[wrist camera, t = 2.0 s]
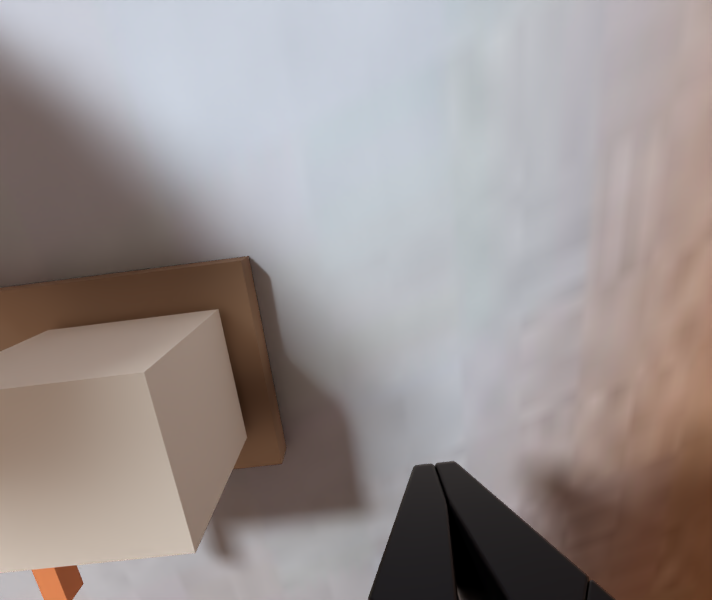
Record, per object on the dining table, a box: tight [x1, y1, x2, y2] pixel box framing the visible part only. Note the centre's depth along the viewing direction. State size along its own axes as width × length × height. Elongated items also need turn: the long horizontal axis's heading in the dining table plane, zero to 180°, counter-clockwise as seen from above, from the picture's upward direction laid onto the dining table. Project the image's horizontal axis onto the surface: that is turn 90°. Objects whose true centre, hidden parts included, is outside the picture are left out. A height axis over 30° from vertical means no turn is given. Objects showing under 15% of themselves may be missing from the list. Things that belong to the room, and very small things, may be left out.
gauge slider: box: [0, 309, 247, 600], centre depth 13 cm, size 8×6×5 cm
